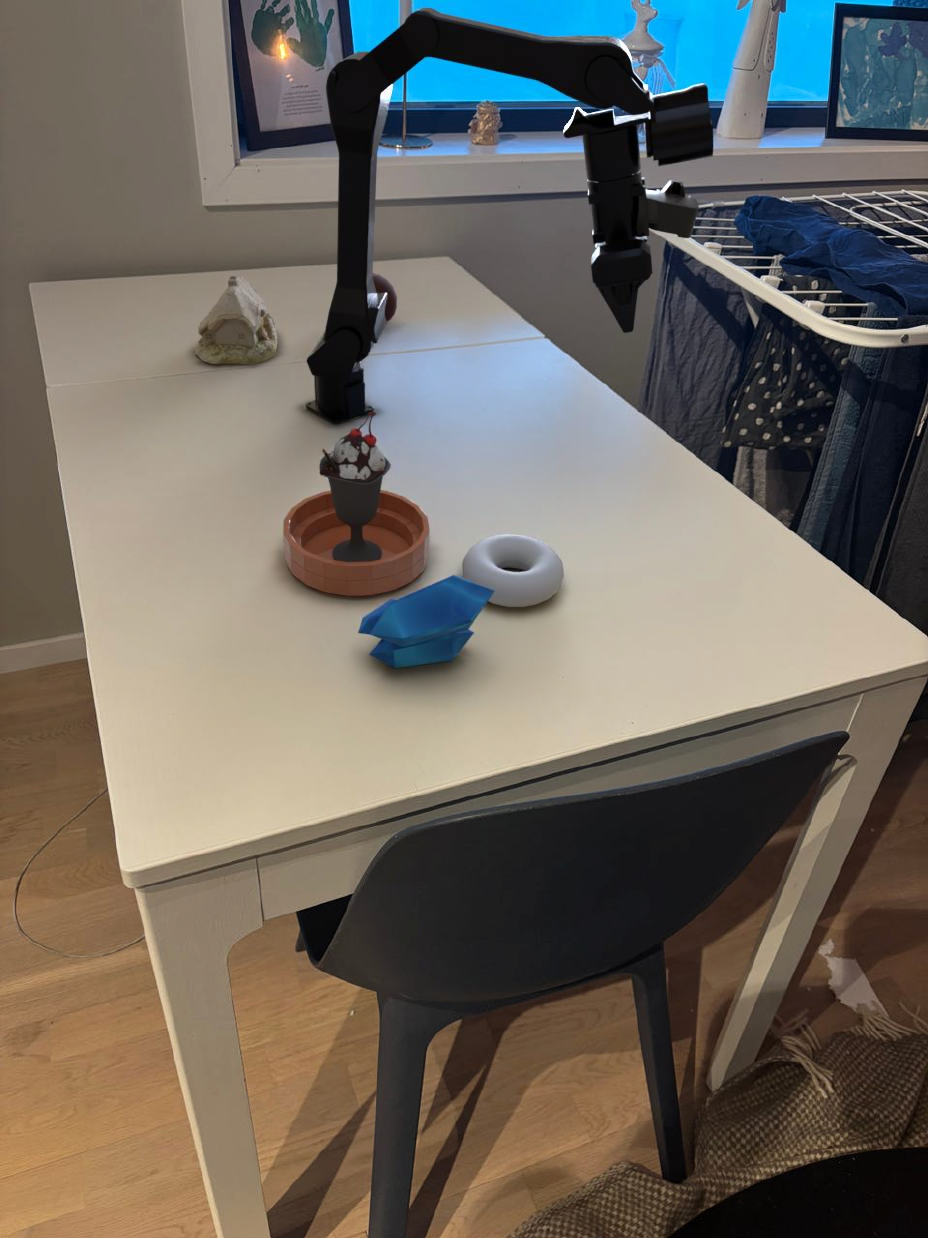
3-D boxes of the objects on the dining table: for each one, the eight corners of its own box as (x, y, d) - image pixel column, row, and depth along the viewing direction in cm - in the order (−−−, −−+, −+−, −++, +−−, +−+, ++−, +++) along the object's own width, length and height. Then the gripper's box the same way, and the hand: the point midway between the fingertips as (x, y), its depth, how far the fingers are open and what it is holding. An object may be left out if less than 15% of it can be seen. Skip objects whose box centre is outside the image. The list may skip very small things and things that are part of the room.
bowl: (258, 551, 94) (254, 517, 92) (368, 506, 102) (368, 473, 100) (344, 618, 86) (342, 583, 84) (456, 564, 94) (458, 530, 92)
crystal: (339, 581, 79) (472, 536, 81) (364, 653, 85) (486, 610, 87) (359, 634, 74) (501, 585, 75) (384, 707, 79) (515, 660, 81)
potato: (337, 332, 141) (336, 280, 136) (353, 311, 148) (352, 261, 144) (389, 338, 140) (390, 286, 136) (403, 317, 148) (404, 267, 143)
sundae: (400, 544, 96) (402, 408, 86) (374, 579, 91) (372, 438, 81) (341, 529, 97) (337, 394, 88) (312, 563, 92) (304, 424, 83)
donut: (443, 569, 94) (491, 624, 87) (444, 540, 92) (493, 594, 85) (529, 548, 98) (581, 599, 91) (532, 519, 95) (586, 569, 88)
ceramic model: (270, 368, 129) (264, 296, 123) (188, 364, 129) (179, 291, 123) (286, 331, 140) (282, 263, 134) (212, 326, 140) (204, 258, 134)
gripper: (698, 181, 91) (705, 336, 100) (685, 142, 105) (692, 280, 114) (583, 201, 93) (600, 351, 102) (586, 160, 108) (601, 295, 117)
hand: (627, 317), depth 109 cm, fingers open, 9 cm apart
